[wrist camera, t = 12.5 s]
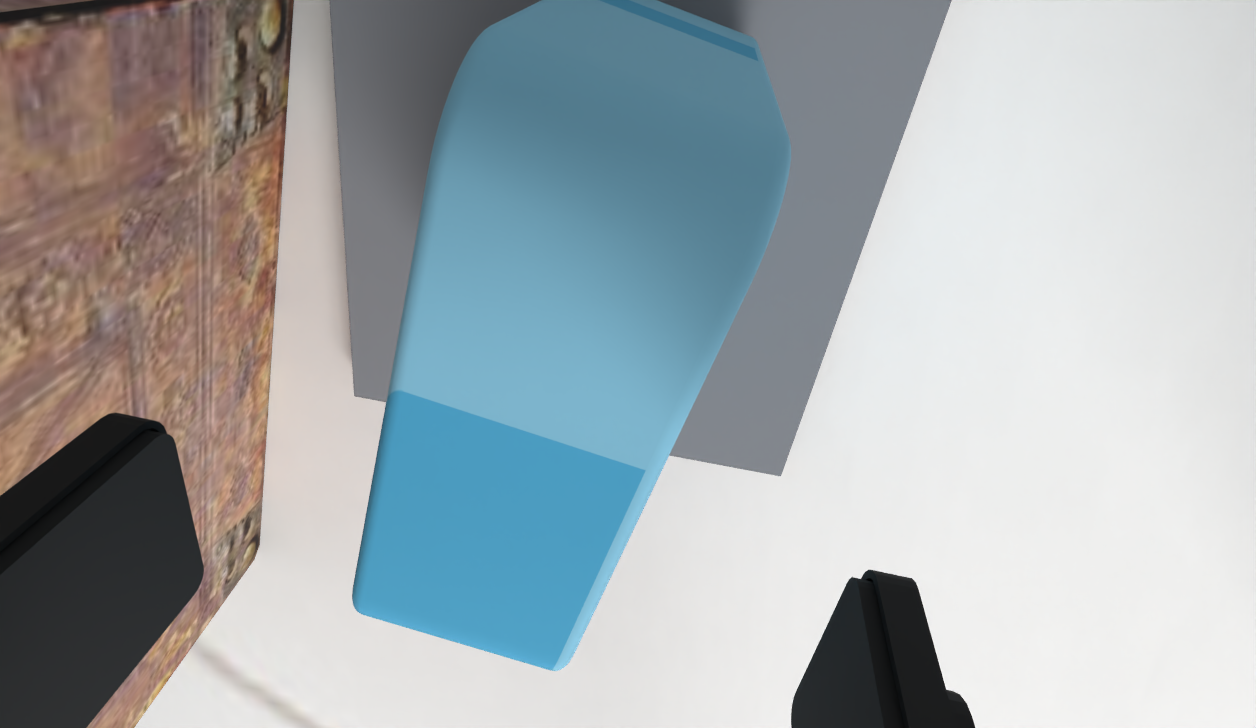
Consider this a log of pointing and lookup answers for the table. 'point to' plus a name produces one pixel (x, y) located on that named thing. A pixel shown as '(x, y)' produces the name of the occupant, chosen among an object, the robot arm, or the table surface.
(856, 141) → the charging mat
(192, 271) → the book
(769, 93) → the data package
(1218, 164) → the table surface
